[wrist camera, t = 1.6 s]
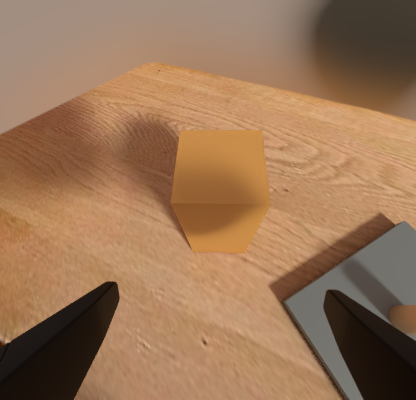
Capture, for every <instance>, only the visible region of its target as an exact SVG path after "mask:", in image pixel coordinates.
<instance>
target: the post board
mask: <svg viewBox="0 0 416 400" xmlns="http://www.w3.org/2000/svg"><path fill="white" fill-rule="evenodd" d="M328 289H335V290H339V291H341V292H342V293H344V294H345V295H347V296H348V297H350V298H351V299H353V300H354V301H356V302H358V303H359V304H361V305H362V306H364V307H365V308H367V309H368V310H370V311H371V312H373V313H374V314H376V315H377V316H379V317H380V318H382V319H383V320H385V321H386V322H388V323H389V324H391V325H392V326H394V327H396V328H397V329H399V330H400V331H402V332H403V333H405V334H406V335H408V336H409V337H411V338H412V339H414V340H415V341H416V231H415V230H414V229H413V228H412V227H411V226H410V225H409V224H408V223H407V222H405V221H403V222H401V223H398V224H396V225H395V226H394V227H392V228H391V229H389V230H388V231H386V232H385V233H383V234H382V235H380V236H379V237H377V238H376V239H374V240H373V241H371V242H370V243H368V244H367V245H365V246H364V247H362V248H361V249H359V250H358V251H356V252H355V253H353V254H352V255H350V256H349V257H348V258H346V259H345V260H343V261H342V262H340V263H339V264H337V265H336V266H334V267H333V268H331V269H330V270H328V271H327V272H325V273H324V274H322V275H321V276H319V277H318V278H316V279H315V280H313V281H312V282H310V283H309V284H307V285H306V286H304V287H303V288H301V289H300V290H299V291H297V292H296V293H294V294H293V295H291V296H290V297H288V298H287V299H285V300H284V301H282V302H283V304H284V305H285V307H286V308H287V310H288V311H289V313H290V315H291V316H292V318H293V319H294V321H295V322H296V324H297V325H298V327H299V328H300V330H301V331H302V333H303V335H304V336H305V338H306V339H307V341H308V342H309V344H310V345H311V347H312V348H313V350H314V351H315V353H316V355H317V356H318V358H319V359H320V361H321V362H322V364H323V365H324V367H325V368H326V370H327V371H328V373H329V375H330V376H331V378H332V379H333V381H334V382H335V384H336V385H337V387H338V388H339V390H340V391H341V393H342V395H343V396H344V398H345V399H346V400H363V398H362V396H361V394H360V392H359V390H358V388H357V386H356V384H355V382H354V380H353V378H352V376H351V373H350V371H349V369H348V367H347V365H346V363H345V361H344V359H343V357H342V355H341V353H340V351H339V348H338V346H337V343H336V341H335V338H334V336H333V333H332V330H331V328H330V325H329V323H328V320H327V317H326V315H325V312H324V309H323V303H324V299H325V294H326V291H327V290H328Z"/></svg>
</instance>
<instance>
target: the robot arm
mask: <svg viewBox="0 0 416 400" xmlns="http://www.w3.org/2000/svg"><path fill="white" fill-rule="evenodd" d="M118 303H119V291H118V285H117V283H116V282H111V281H108V282H105V283H103V284H102V285H100V286H99V287H97V288H95V289H94V290H92V291H91V292H89V293H87V294H86V295H84V296H83V297H81V298H79V299H78V300H76V301H75V302H73V303H71V304H70V305H68V306H66V307H65V308H63V309H62V310H60V311H58V312H57V313H55V314H54V315H52V316H50V317H49V318H47V319H46V320H44V321H42V322H41V323H39V324H38V325H36V326H34V327H33V328H31V329H30V330H28V331H26V332H25V333H23V334H22V335H20V336H18V337H17V338H15V339H13V340H12V341H11V342H10V343H7V344H5V345H4V346H2V347H1V348H0V400H74V398H75V396H76V394H77V392H78V390H79V388H80V386H81V384H82V382H83V380H84V378H85V376H86V374H87V372H88V370H89V368H90V366H91V364H92V362H93V360H94V358H95V356H96V354H97V352H98V350H99V348H100V346H101V344H102V342H103V340H104V338H105V336H106V333H107V331H108V328H109V326H110V323H111V321H112V318H113V316H114V313H115V310H116V308H117V305H118ZM323 309H324V312H325V315H326V317H327V320H328V323H329V325H330V328H331V330H332V333H333V336H334V338H335V341H336V343H337V346H338V348H339V351H340V353H341V355H342V357H343V359H344V361H345V363H346V365H347V367H348V369H349V371H350V373H351V376H352V378H353V380H354V382H355V384H356V386H357V388H358V390H359V392H360V394H361V396H362V398H363V400H416V341H415V340H414V339H412V338H411V337H409V336H408V335H406V334H405V333H403V332H402V331H400V330H399V329H397V328H396V327H394V326H392V325H391V324H389V323H388V322H386V321H385V320H383V319H382V318H380V317H379V316H377V315H376V314H374V313H373V312H371V311H370V310H368V309H367V308H365V307H364V306H362V305H361V304H359V303H358V302H356V301H354V300H353V299H351V298H350V297H348V296H347V295H345V294H344V293H342V292H341V291H339V290H335V289H328V290H327V291H326V294H325V299H324V303H323Z"/></svg>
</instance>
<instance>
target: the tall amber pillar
mask: <svg viewBox="0 0 416 400" xmlns="http://www.w3.org/2000/svg"><path fill="white" fill-rule="evenodd" d="M170 204H171V206H172V208H173V210H174V212H175V214H176V216H177V218H178V221H179V223H180V225H181V227H182V229H183V231H184V233H185V235H186V238H187V240H188V242H189V244H190V246H191V248H192V250H193V252H225V253H245V251H246V250H247V248H248V246H249V244H250V242H251V240H252V238H253V236H254V235H255V233H256V231H257V229H258V227H259V225H260V223H261V222H262V220H263V218H264V216H265V214H266V212H267V210H268V208H269V207H270V205H271V203H270V195H269V186H268V178H267V169H266V161H265V152H264V144H263V136H262V130H217V131H180V135H179V142H178V150H177V157H176V165H175V172H174V179H173V187H172V194H171V201H170Z"/></svg>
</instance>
